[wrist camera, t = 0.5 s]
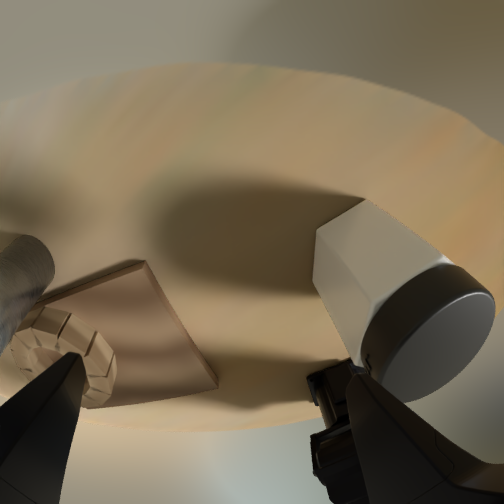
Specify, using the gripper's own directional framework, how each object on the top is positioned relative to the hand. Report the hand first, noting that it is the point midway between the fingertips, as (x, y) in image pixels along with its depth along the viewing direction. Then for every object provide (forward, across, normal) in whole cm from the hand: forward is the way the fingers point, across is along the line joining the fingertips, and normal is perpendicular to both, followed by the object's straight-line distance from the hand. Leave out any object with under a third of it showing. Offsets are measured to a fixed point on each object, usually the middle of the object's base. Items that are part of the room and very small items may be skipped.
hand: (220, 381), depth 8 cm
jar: (+14, -11, +1) cm, 18 cm away
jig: (+14, +10, +14) cm, 22 cm away
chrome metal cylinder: (+13, +16, +5) cm, 21 cm away
